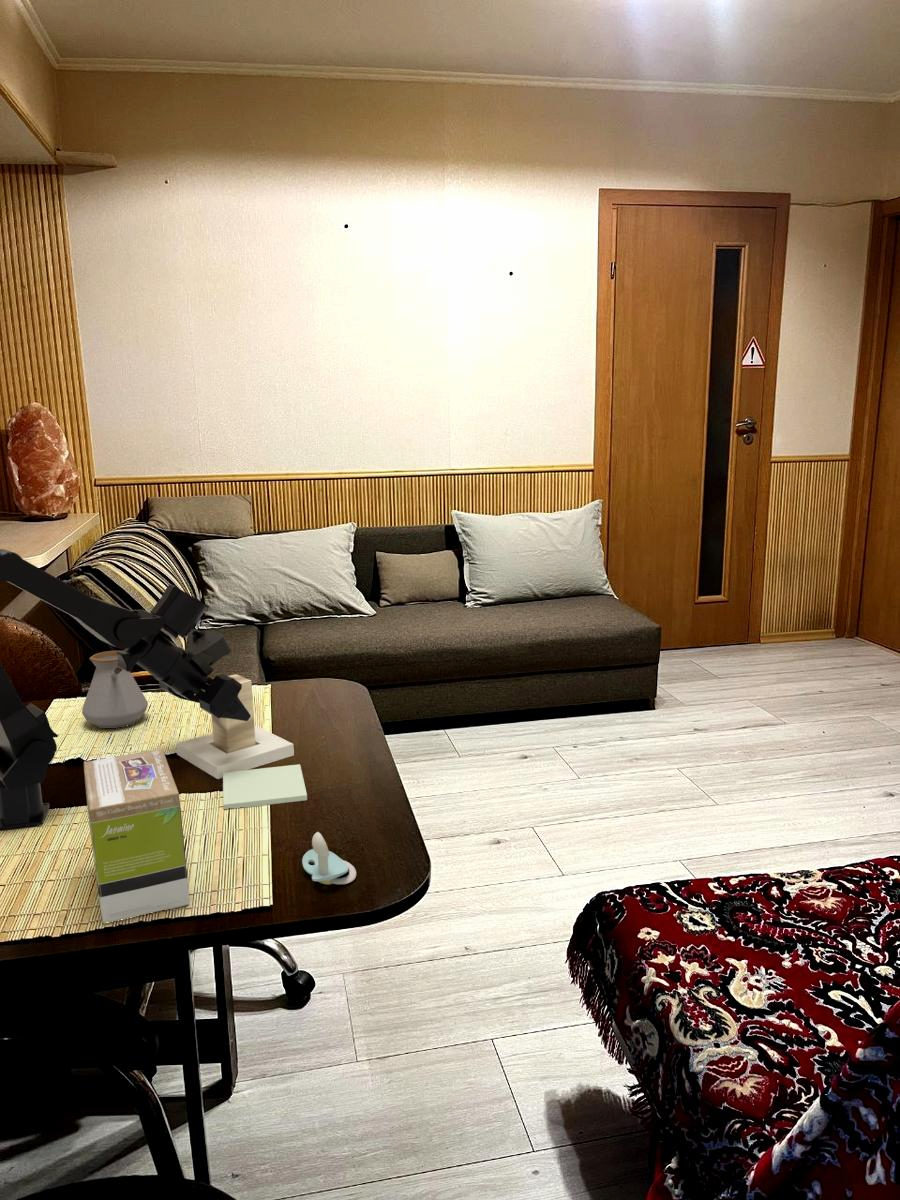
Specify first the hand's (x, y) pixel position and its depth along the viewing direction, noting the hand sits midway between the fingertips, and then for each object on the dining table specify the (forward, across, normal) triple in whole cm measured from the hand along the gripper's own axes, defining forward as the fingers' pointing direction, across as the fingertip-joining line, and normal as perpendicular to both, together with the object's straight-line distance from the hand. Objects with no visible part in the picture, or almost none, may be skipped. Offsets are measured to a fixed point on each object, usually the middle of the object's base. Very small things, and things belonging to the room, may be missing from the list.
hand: (234, 711), depth 151 cm
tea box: (-16, -30, +26) cm, 43 cm away
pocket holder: (+5, 0, +6) cm, 8 cm away
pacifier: (-3, -44, +14) cm, 46 cm away
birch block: (+5, 0, +6) cm, 8 cm away
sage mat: (+2, -15, +8) cm, 17 cm away
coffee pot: (-1, +25, +12) cm, 28 cm away
